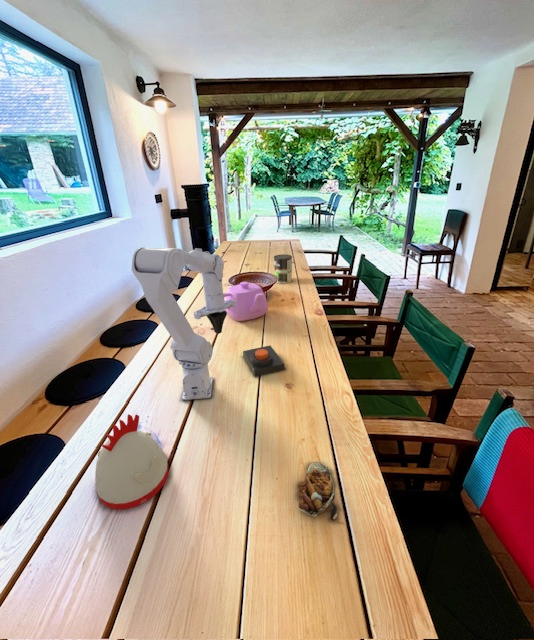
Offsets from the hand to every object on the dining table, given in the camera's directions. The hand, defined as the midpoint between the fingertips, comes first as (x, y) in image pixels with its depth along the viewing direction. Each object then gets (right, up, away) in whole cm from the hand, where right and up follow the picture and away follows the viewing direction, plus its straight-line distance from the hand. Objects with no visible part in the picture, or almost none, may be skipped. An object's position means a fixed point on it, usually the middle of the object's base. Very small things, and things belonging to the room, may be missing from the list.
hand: (218, 332), depth 105 cm
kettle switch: (+15, -10, +2) cm, 18 cm away
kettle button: (+14, -8, -2) cm, 16 cm away
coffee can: (+25, +27, +82) cm, 90 cm away
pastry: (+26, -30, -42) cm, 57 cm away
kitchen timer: (-12, -29, -37) cm, 49 cm away
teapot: (+7, +6, +38) cm, 39 cm away
